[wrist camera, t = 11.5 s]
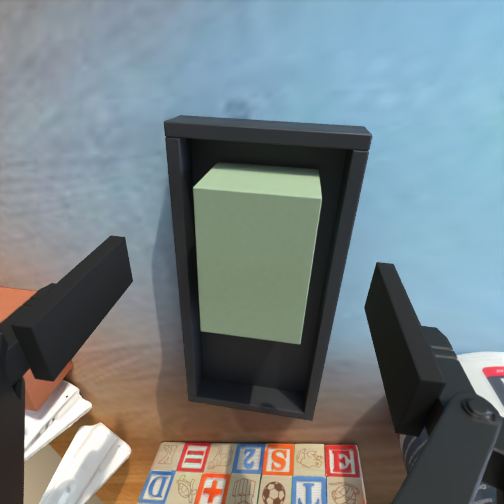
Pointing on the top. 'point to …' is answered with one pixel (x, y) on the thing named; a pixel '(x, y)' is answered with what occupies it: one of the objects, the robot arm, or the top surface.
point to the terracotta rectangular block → (36, 391)
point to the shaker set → (73, 447)
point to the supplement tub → (485, 385)
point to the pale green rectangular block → (255, 248)
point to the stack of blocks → (254, 474)
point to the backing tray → (323, 267)
